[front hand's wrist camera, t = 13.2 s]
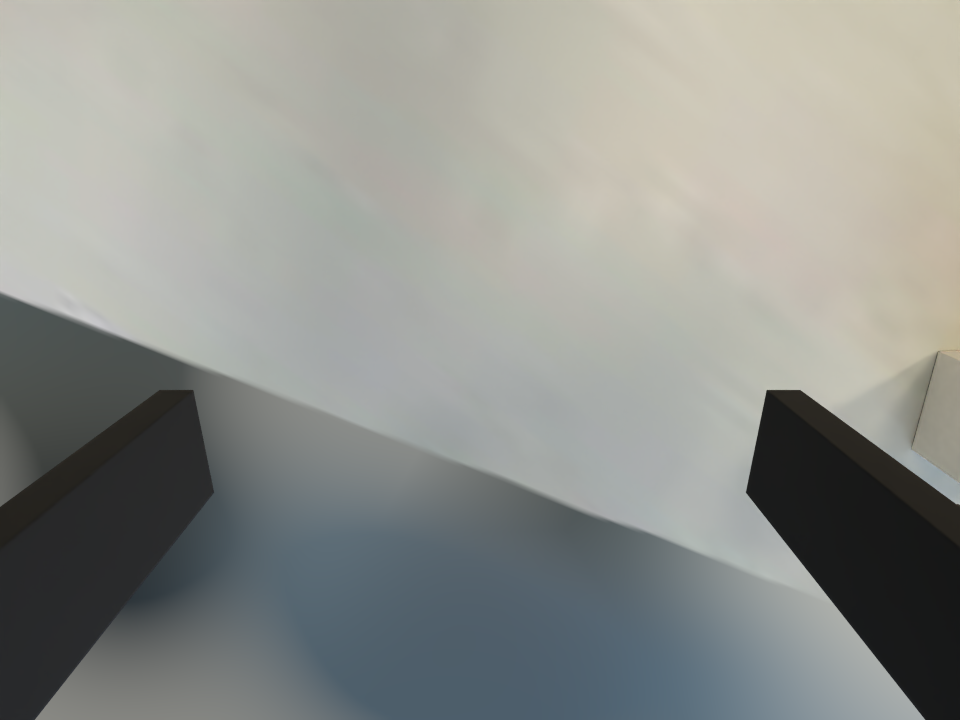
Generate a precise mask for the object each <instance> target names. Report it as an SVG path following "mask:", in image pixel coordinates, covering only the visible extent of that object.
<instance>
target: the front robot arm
mask: <svg viewBox="0 0 960 720" xmlns="http://www.w3.org/2000/svg"><path fill="white" fill-rule="evenodd" d="M213 493H214V490H213V485H212V480H211V475H210V471H209V466H208V461H207V456H206V451H205V446H204V441H203V436H202V431H201V426H200V421H199V417H198V412H197V406H196V402H195V397H194V392H193V390H159V391H158V392H156V393H155V394H154V395H152V396H151V397H150V398H148V399H147V400H146V401H144V402H143V403H142V404H140V405H139V406H137V407H136V408H135V409H133V410H132V411H131V412H129V413H128V414H126V415H125V416H124V417H122V418H121V419H120V420H118V421H117V422H116V423H114V424H113V425H111V426H110V427H109V428H107V429H106V430H105V431H103V432H102V433H101V434H99V435H98V436H96V437H95V438H94V439H92V440H91V441H90V442H88V443H87V444H85V445H84V446H83V447H81V448H80V449H79V450H77V451H76V452H75V453H73V454H72V455H71V456H69V457H68V458H66V459H65V460H64V461H62V462H61V463H60V464H58V465H57V466H56V467H54V468H53V469H51V470H50V471H49V472H47V473H46V474H45V475H43V476H42V477H40V478H39V479H38V480H36V481H35V482H34V483H32V484H31V485H30V486H28V487H27V488H25V489H24V490H23V491H21V492H20V493H19V494H17V495H16V496H15V497H13V498H12V499H10V500H9V501H8V502H6V503H5V504H4V505H2V506H1V507H0V720H35V719H36V717H37V716H38V715H39V714H40V712H41V711H42V710H43V709H44V707H45V706H46V705H47V703H48V702H49V701H50V700H51V698H52V697H53V696H54V695H55V693H56V692H57V691H58V690H59V688H60V687H61V686H62V684H63V683H64V682H65V681H66V679H67V678H68V677H69V675H70V674H71V673H72V672H73V671H74V669H75V668H76V667H77V665H78V664H79V663H80V662H81V660H82V659H83V658H84V657H85V655H86V654H87V653H88V652H89V650H90V649H91V648H92V646H93V645H94V644H95V643H96V641H97V640H98V639H99V637H100V636H101V635H102V634H103V632H104V631H105V630H106V629H107V627H108V626H109V625H110V624H111V622H112V621H113V620H114V619H115V617H116V616H117V615H118V613H119V612H120V611H121V610H122V608H123V607H124V606H125V605H126V603H127V602H128V601H129V600H130V598H131V597H132V596H133V594H134V593H135V592H136V591H137V589H138V588H139V587H140V586H141V584H142V583H143V582H144V581H145V579H146V578H147V577H148V575H149V574H150V573H151V572H152V570H153V569H154V568H155V567H156V565H157V564H158V563H159V562H160V560H161V559H162V558H163V556H164V555H165V554H166V553H167V551H168V550H169V549H170V548H171V546H172V545H173V544H174V543H175V541H176V540H177V539H178V537H179V536H180V535H181V534H182V532H183V531H184V530H185V529H186V527H187V526H188V525H189V524H190V522H191V521H192V520H193V518H194V517H195V516H196V515H197V513H198V512H199V511H200V510H201V508H202V507H203V506H204V504H205V503H206V502H207V501H208V499H209V498H210V497H211V496H212V494H213ZM746 493H747V494H748V496H749V497H750V498H751V499H752V501H753V502H754V503H755V505H756V506H757V507H758V508H759V510H760V511H761V512H762V513H763V515H764V516H765V517H766V518H767V520H768V521H769V522H770V524H771V525H772V526H773V527H774V529H775V530H776V531H777V532H778V534H779V535H780V536H781V537H782V539H783V540H784V541H785V543H786V544H787V545H788V546H789V548H790V549H791V550H792V551H793V553H794V554H795V555H796V556H797V558H798V559H799V560H800V562H801V563H802V564H803V565H804V567H805V568H806V569H807V570H808V572H809V573H810V574H811V575H812V577H813V578H814V579H815V581H816V582H817V583H818V584H819V586H820V587H821V588H822V589H823V591H824V592H825V593H826V594H827V596H828V597H829V598H830V600H831V601H832V602H833V603H834V605H835V606H836V607H837V608H838V610H839V611H840V612H841V613H842V615H843V616H844V617H845V619H846V620H847V621H848V622H849V624H850V625H851V626H852V627H853V629H854V630H855V631H856V632H857V634H858V635H859V636H860V638H861V639H862V640H863V641H864V643H865V644H866V645H867V646H868V648H869V649H870V650H871V651H872V653H873V654H874V655H875V657H876V658H877V659H878V660H879V662H880V663H881V664H882V665H883V667H884V668H885V669H886V671H887V672H888V673H889V674H890V676H891V677H892V678H893V679H894V681H895V682H896V683H897V684H898V686H899V687H900V688H901V690H902V691H903V692H904V693H905V695H906V696H907V697H908V698H909V700H910V701H911V702H912V703H913V705H914V706H915V707H916V708H917V710H918V711H919V712H920V713H921V715H922V716H923V717H924V719H925V720H960V505H959V504H955V503H954V502H952V501H951V500H950V499H948V498H947V497H945V496H944V495H943V494H941V493H940V492H939V491H937V490H936V489H935V488H933V487H932V486H930V485H929V484H928V483H926V482H925V481H924V480H922V479H921V478H920V477H918V476H917V475H915V474H914V473H913V472H911V471H910V470H909V469H907V468H906V467H905V466H903V465H902V464H900V463H899V462H898V461H896V460H895V459H894V458H892V457H891V456H890V455H888V454H887V453H885V452H884V451H883V450H881V449H880V448H879V447H877V446H876V445H875V444H873V443H872V442H870V441H869V440H868V439H866V438H865V437H864V436H862V435H861V434H859V433H858V432H857V431H855V430H854V429H853V428H851V427H850V426H849V425H847V424H846V423H844V422H843V421H842V420H840V419H839V418H838V417H836V416H835V415H834V414H832V413H831V412H829V411H828V410H827V409H825V408H824V407H823V406H821V405H820V404H819V403H817V402H816V401H814V400H813V399H812V398H810V397H809V396H808V395H806V394H805V393H804V392H802V391H801V390H767V392H766V397H765V401H764V406H763V411H762V416H761V421H760V426H759V431H758V436H757V441H756V446H755V451H754V456H753V461H752V466H751V470H750V475H749V480H748V485H747V490H746Z"/></svg>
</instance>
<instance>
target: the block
mask: <svg viewBox="0 0 960 720" xmlns="http://www.w3.org/2000/svg"><path fill="white" fill-rule="evenodd" d="M912 450H913V451H915V452H916V453H917V454H919V455H920V456H922V457H923V458H924V459H926V460H927V461H929V462H930V463H932V464H933V465H934V466H936V467H937V468H939V469H940V470H941V471H943V472H944V473H946V474H947V475H948V476H950V477H951V478H953V479H954V480H956V481H957V482H958V483H960V350H956V351H939V352H938V355H937V359H936V363H935V366H934V370H933V373H932V377H931V381H930V384H929V388H928V391H927V395H926V399H925V402H924V406H923V409H922V413H921V417H920V420H919V424H918V427H917V431H916V435H915V438H914V442H913V445H912Z"/></svg>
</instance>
